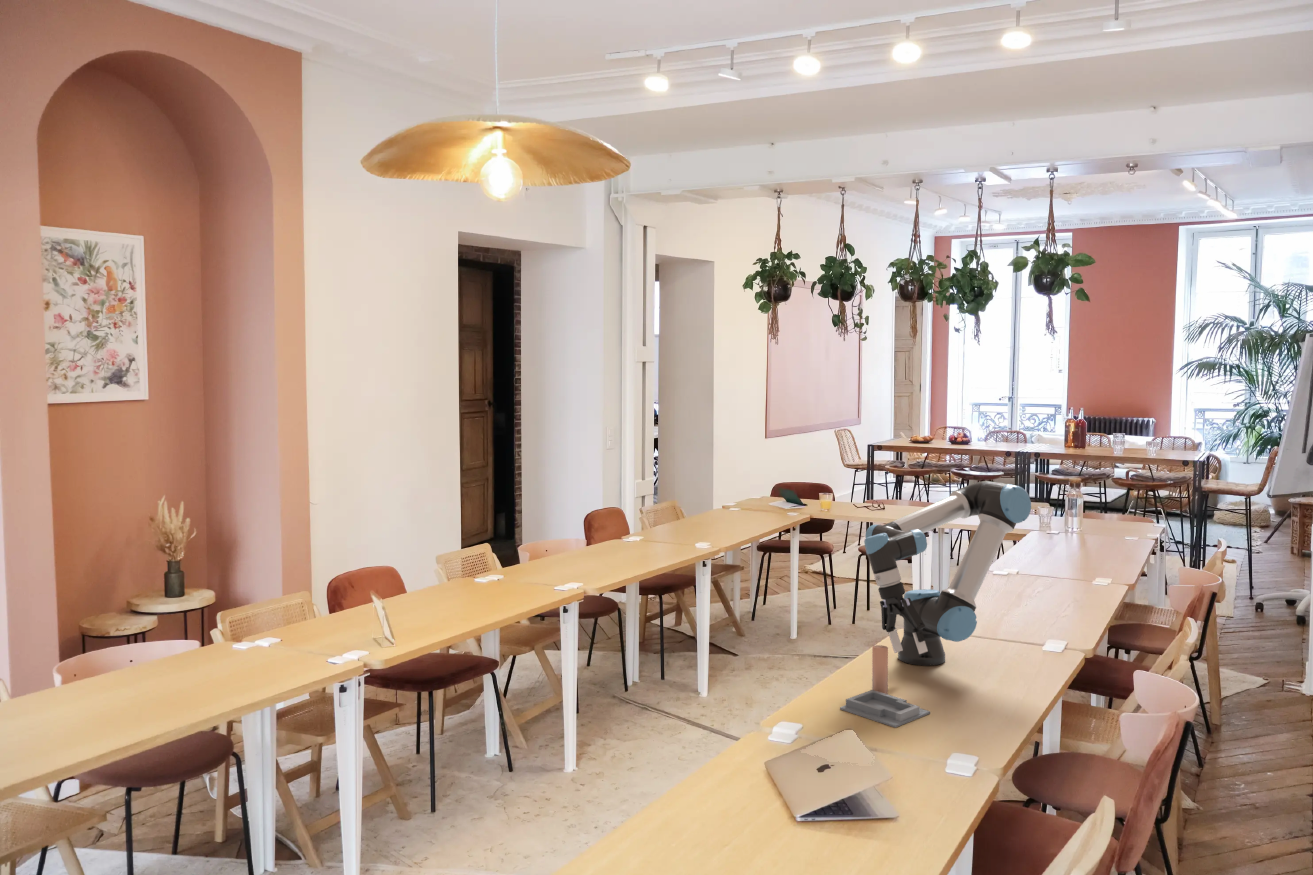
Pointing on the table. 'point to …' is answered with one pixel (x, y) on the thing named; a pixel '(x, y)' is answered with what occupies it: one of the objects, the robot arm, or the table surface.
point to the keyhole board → (883, 708)
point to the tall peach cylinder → (880, 668)
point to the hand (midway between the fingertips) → (910, 652)
